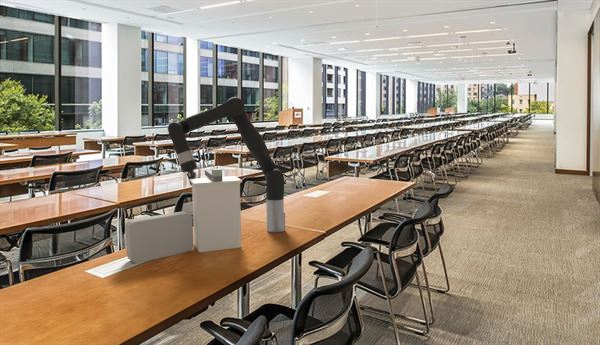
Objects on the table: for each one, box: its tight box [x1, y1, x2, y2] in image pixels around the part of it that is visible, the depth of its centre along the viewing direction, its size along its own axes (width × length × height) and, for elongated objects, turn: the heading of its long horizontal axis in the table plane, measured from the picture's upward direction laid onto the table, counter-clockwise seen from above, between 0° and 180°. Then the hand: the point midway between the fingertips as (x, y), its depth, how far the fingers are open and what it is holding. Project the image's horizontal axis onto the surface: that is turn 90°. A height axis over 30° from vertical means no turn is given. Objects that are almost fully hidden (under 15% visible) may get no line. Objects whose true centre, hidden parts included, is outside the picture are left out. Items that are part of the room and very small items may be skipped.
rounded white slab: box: [124, 211, 194, 264], centre depth 201 cm, size 29×8×18 cm, turn 129°
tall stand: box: [188, 175, 243, 253], centre depth 213 cm, size 22×14×32 cm, turn 111°
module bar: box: [204, 167, 223, 182], centre depth 215 cm, size 4×24×6 cm, turn 21°
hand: (198, 192), depth 223 cm, fingers open, 8 cm apart
